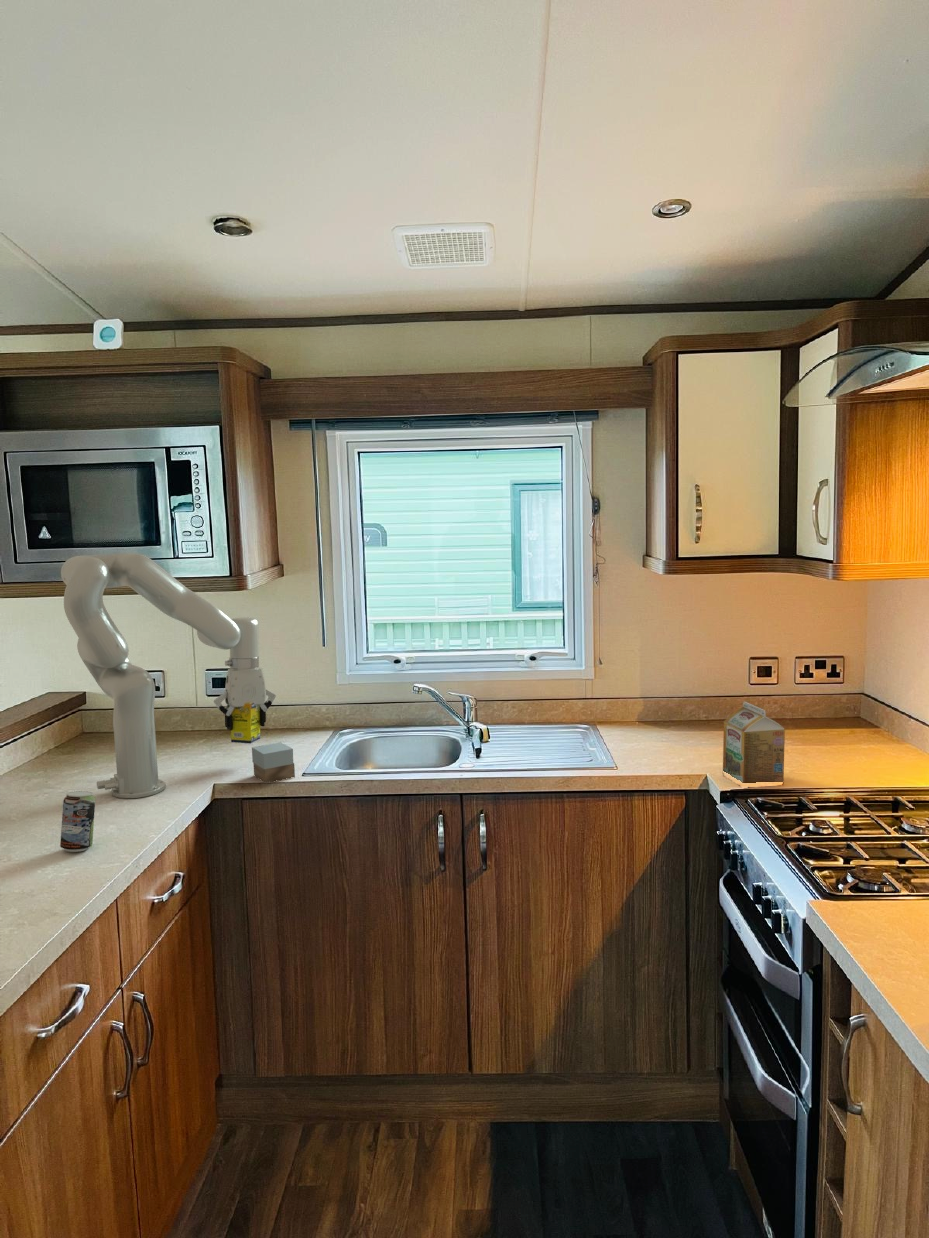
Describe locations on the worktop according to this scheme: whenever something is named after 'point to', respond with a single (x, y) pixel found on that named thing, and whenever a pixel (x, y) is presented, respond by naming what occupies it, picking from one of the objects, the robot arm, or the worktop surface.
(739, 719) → the milk carton
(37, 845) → the worktop surface
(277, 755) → the slate block
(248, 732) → the supplement box
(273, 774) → the walnut block
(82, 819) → the beverage can
